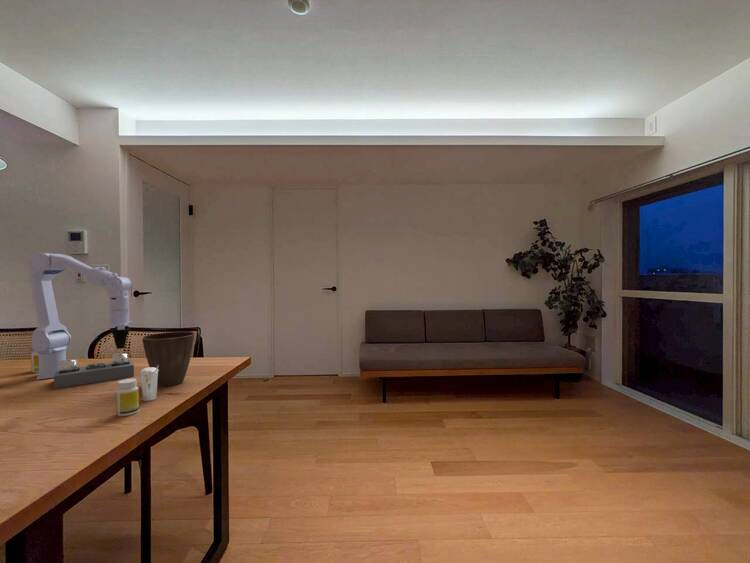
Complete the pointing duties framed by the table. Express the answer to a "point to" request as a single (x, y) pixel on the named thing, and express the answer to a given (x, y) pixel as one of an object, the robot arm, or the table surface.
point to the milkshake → (149, 383)
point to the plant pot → (169, 355)
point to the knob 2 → (120, 359)
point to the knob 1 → (68, 365)
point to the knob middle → (95, 366)
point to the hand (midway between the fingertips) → (120, 347)
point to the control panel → (93, 374)
